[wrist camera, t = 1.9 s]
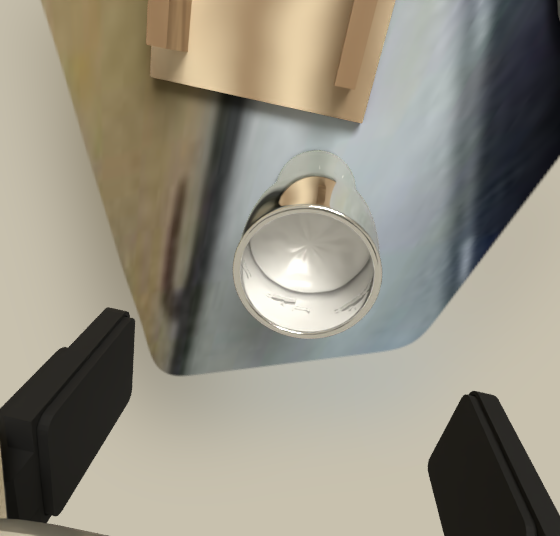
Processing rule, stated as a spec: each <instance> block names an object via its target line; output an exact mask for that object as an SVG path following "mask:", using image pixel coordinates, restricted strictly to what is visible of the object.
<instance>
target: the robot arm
mask: <svg viewBox="0 0 560 536" xmlns="http://www.w3.org/2000/svg"><path fill="white" fill-rule="evenodd" d="M557 4H558V16H559V20H560V0H557ZM134 333H135V320H134V319H133V318H130V315H129V312H127V311H122V310H118V309H113V308H106V309H105V310H104V311H103V312H102V313H101V314H100V315H99V316H98V317H97V318H96V319H95V320H94V321H93V322H92V323H91V324H90V325H89V327H87V329H86V330H85V331H84V332H83V333H82V334H81V335H80V336H79V337H78V338H77V339H76V340H75V341H74V342H73V343H72V344H71V345H70V346H69V347H68V348H66V347H64V348H61V349H59V350H58V351H57V352H56V353H55V354H54V355H53V356H52V357H51V358H50V359H49V360H48V361H47V362H46V363H45V364H44V365H43V366H42V367H41V368H40V369H39V370H38V371H37V372H36V373H35V374H34V375H33V376H32V377H31V378H30V379H29V380H28V381H27V382H26V383H25V384H24V385H23V386H22V387H21V388H20V389H19V390H18V391H17V392H16V393H15V394H14V395H13V396H12V397H11V398H10V399H9V400H8V401H7V402H6V403H5V404H4V406H3V407H1V408H0V536H107V535H102V534H98V533H92V532H88V531H83V530H78V529H74V528H69V527H64V526H58V525H53V524H47V522H48V520H49V518H50V517H51V515H53V516H58V515H59V514H60V513H61V511H62V510H63V508H64V507H65V505H66V503H67V502H68V500H69V499H70V497H71V495H72V493H73V492H74V490H75V489H76V487H77V485H78V484H79V482H80V480H81V479H82V477H83V476H84V474H85V472H86V470H87V469H88V467H89V466H90V464H91V462H92V460H93V459H94V457H95V456H96V454H97V453H98V451H99V449H100V448H101V446H102V444H103V443H104V441H105V440H106V438H107V436H108V435H109V433H110V431H111V430H112V428H113V426H114V425H115V423H116V422H117V420H118V418H119V417H120V415H121V413H122V412H123V410H124V408H125V407H126V405H127V403H128V402H129V399H130V396H131V392H132V375H133V356H134V355H133V354H134ZM428 473H429V477H430V481H431V485H432V489H433V493H434V497H435V501H436V504H437V508H438V512H439V517H440V520H441V524H442V528H443V532H444V536H560V515H559V513H558V512H557V510H556V508H555V506H554V504H553V502H552V500H551V499H550V496H549V495H548V493H547V491H546V489H545V487H544V485H543V483H542V481H541V479H540V477H539V476H538V474H537V472H536V470H535V468H534V466H533V464H532V462H531V460H530V459H529V457H528V455H527V453H526V451H525V449H524V447H523V445H522V444H521V442H520V440H519V438H518V436H517V434H516V432H515V430H514V428H513V426H512V425H511V423H510V421H509V419H508V417H507V415H506V413H505V411H504V409H503V407H502V406H501V404H500V402H499V400H498V398H497V397H496V396H494V395H490V394H485V393H481V392H477V391H472V392H470V394H469V395H464V396H463V397H462V398H461V400H460V402H459V404H458V406H457V408H456V410H455V411H454V413H453V415H452V417H451V419H450V421H449V423H448V425H447V427H446V429H445V431H444V432H443V434H442V436H441V438H440V440H439V442H438V443H437V446H436V447H435V449H434V451H433V453H432V455H431V457H430V459H429V462H428Z"/></svg>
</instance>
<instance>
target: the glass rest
mask: <svg viewBox="0 0 560 536" xmlns="http://www.w3.org/2000/svg"><path fill="white" fill-rule="evenodd" d="M394 4H395V0H148V11H147V36H146V45H151V64H150V77H153V78H158V79H162V80H167V81H171V82H176V83H181V84H185V85H190V86H194V87H199V88H203V89H208V90H212V91H217V92H221V93H226V94H231V95H235V96H240V97H244V98H249V99H253V100H258V101H262V102H267V103H272V104H276V105H281V106H285V107H290V108H294V109H299V110H303V111H308V112H312V113H317V114H322V115H326V116H331V117H335V118H340V119H344V120H349V121H353V122H358V123H362V122H363V118H364V114H365V111H366V107H367V103H368V100H369V96H370V92H371V88H372V85H373V81H374V77H375V74H376V70H377V66H378V63H379V59H380V55H381V52H382V48H383V44H384V41H385V37H386V33H387V30H388V26H389V22H390V19H391V15H392V11H393V7H394Z"/></svg>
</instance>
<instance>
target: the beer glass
mask: <svg viewBox="0 0 560 536" xmlns="http://www.w3.org/2000/svg"><path fill="white" fill-rule="evenodd" d="M233 279H234V284H235V288H236V291H237V293H238V296H239V298H240V300H241V302H242V303H243V305H244V306H245V308H246V309H247V310H248V311H249V313H250V314H251V315H252V316H253V317H254V318H255V319H256V320H258V321H259V322H260V323H262V324H263V325H264V326H266V327H268V328H269V329H271V330H273V331H275V332H278V333H280V334H283V335H286V336H290V337H295V338H303V339H315V338H323V337H328V336H332V335H335V334H338V333H341V332H343V331H345V330H347V329H349V328H350V327H352V326H353V325H355V324H356V323H358V322H359V321H360V320H361V319H362V318H363V317H364V316H365V315H366V314H367V313H368V312H369V310H370V309H371V308H372V306H373V304H374V303H375V301H376V299H377V296H378V294H379V291H380V287H381V282H382V265H381V259H380V250H379V241H378V235H377V230H376V226H375V222H374V219H373V217H372V214H371V212H370V209H369V207H368V205H367V203H366V202H365V200H364V199H363V197H362V196H361V195H360V193H359V192H358V191H357V190H356V184H355V179H354V176H353V173H352V171H351V169H350V168H349V166H348V165H347V164H346V163H345V162H344V161H343V160H342V159H341V158H339V157H338V156H336V155H334V154H332V153H330V152H326V151H321V150H312V151H307V152H303V153H301V154H298V155H296V156H295V157H293V158H292V159H290V160H289V161H288V162H287V163H286V164H285V166H284V167H283V168H282V170H281V172H280V174H279V176H278V179H277V182H276V183H274V184H273V185H272V186H271V187H269V188H268V189H267V190H266V191H265V192H264V194H263V195H262V196H261V197H260V199H259V200H258V202H257V203H256V204H255V206H254V208H253V209H252V211H251V213H250V215H249V217H248V220H247V222H246V224H245V227H244V230H243V233H242V236H241V239H240V242H239V244H238V247H237V249H236V252H235V256H234V261H233Z"/></svg>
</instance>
